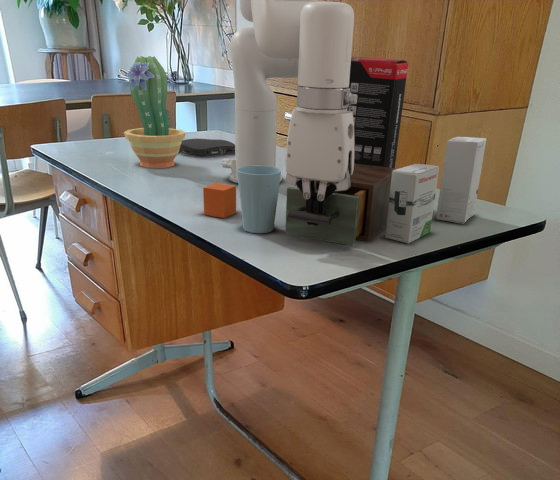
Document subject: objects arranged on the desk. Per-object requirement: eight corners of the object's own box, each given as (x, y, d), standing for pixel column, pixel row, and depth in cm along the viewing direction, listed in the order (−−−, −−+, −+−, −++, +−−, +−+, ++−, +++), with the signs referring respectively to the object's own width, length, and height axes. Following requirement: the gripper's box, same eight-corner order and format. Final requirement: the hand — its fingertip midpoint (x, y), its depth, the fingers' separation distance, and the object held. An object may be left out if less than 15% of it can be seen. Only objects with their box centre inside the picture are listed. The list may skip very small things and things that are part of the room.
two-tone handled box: (342, 254, 93) (346, 204, 89) (272, 242, 98) (273, 194, 94) (379, 224, 109) (384, 180, 105) (317, 214, 113) (319, 172, 109)
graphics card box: (393, 201, 127) (411, 58, 113) (381, 208, 122) (398, 59, 108) (322, 190, 134) (331, 54, 121) (308, 196, 129) (315, 55, 116)
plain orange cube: (204, 214, 114) (202, 187, 112) (216, 209, 118) (215, 182, 115) (224, 218, 112) (224, 190, 110) (236, 212, 116) (236, 185, 113)
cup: (282, 224, 110) (283, 166, 105) (277, 236, 104) (278, 175, 98) (241, 221, 111) (241, 164, 105) (234, 234, 104) (233, 173, 99)
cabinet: (367, 241, 103) (373, 184, 98) (296, 229, 108) (299, 175, 103) (393, 219, 115) (399, 168, 110) (328, 210, 120) (331, 160, 115)
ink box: (406, 228, 110) (416, 161, 104) (430, 233, 108) (441, 165, 102) (383, 238, 104) (391, 168, 98) (407, 244, 102) (417, 173, 96)
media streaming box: (212, 146, 180) (212, 135, 178) (240, 154, 170) (240, 143, 169) (170, 150, 172) (169, 139, 170) (197, 158, 162) (196, 147, 160)
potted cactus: (116, 162, 154) (104, 54, 142) (166, 156, 163) (159, 54, 151) (146, 173, 145) (137, 57, 132) (198, 166, 154) (194, 57, 141)
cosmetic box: (464, 224, 113) (479, 142, 106) (433, 219, 116) (446, 139, 108) (474, 215, 120) (489, 137, 112) (444, 210, 122) (457, 133, 115)
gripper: (378, 101, 87) (366, 224, 97) (287, 95, 93) (283, 211, 102) (362, 106, 82) (350, 236, 91) (265, 98, 87) (264, 222, 96)
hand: (315, 223), depth 96 cm, fingers closed
